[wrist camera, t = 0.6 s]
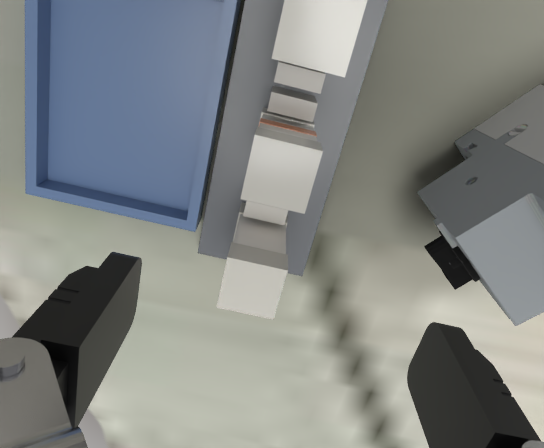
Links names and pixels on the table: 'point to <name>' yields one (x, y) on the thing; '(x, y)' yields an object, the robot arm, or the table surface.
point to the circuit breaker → (496, 209)
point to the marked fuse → (282, 162)
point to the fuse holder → (290, 102)
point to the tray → (126, 103)
